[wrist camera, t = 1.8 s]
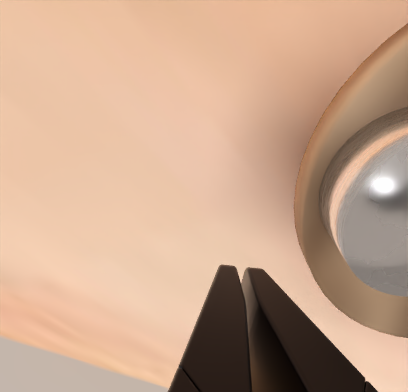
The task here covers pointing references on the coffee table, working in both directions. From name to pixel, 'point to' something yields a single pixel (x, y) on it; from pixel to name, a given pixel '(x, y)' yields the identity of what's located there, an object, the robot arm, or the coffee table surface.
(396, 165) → the cover
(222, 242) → the coffee table surface
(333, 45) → the coffee table surface
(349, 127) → the turntable
